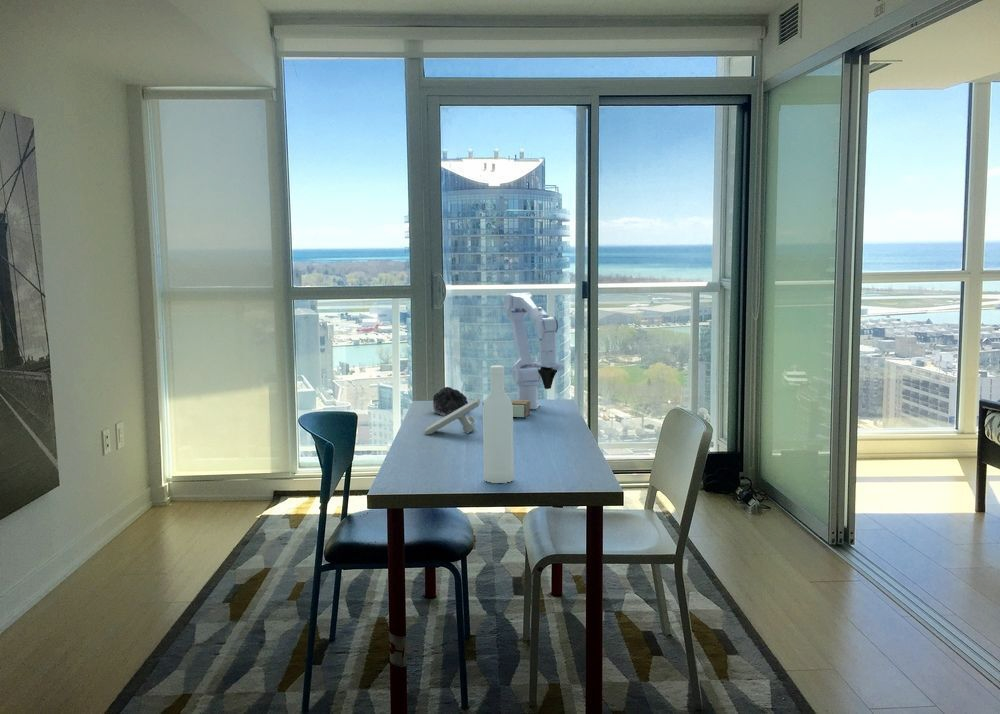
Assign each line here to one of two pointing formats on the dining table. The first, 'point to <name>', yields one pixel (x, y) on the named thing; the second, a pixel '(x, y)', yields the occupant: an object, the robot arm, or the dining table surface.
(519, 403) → the cabinet
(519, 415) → the door
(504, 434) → the bottle
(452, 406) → the crystal cluster
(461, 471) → the dining table surface
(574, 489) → the dining table surface
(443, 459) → the dining table surface
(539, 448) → the dining table surface
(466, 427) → the door handle
